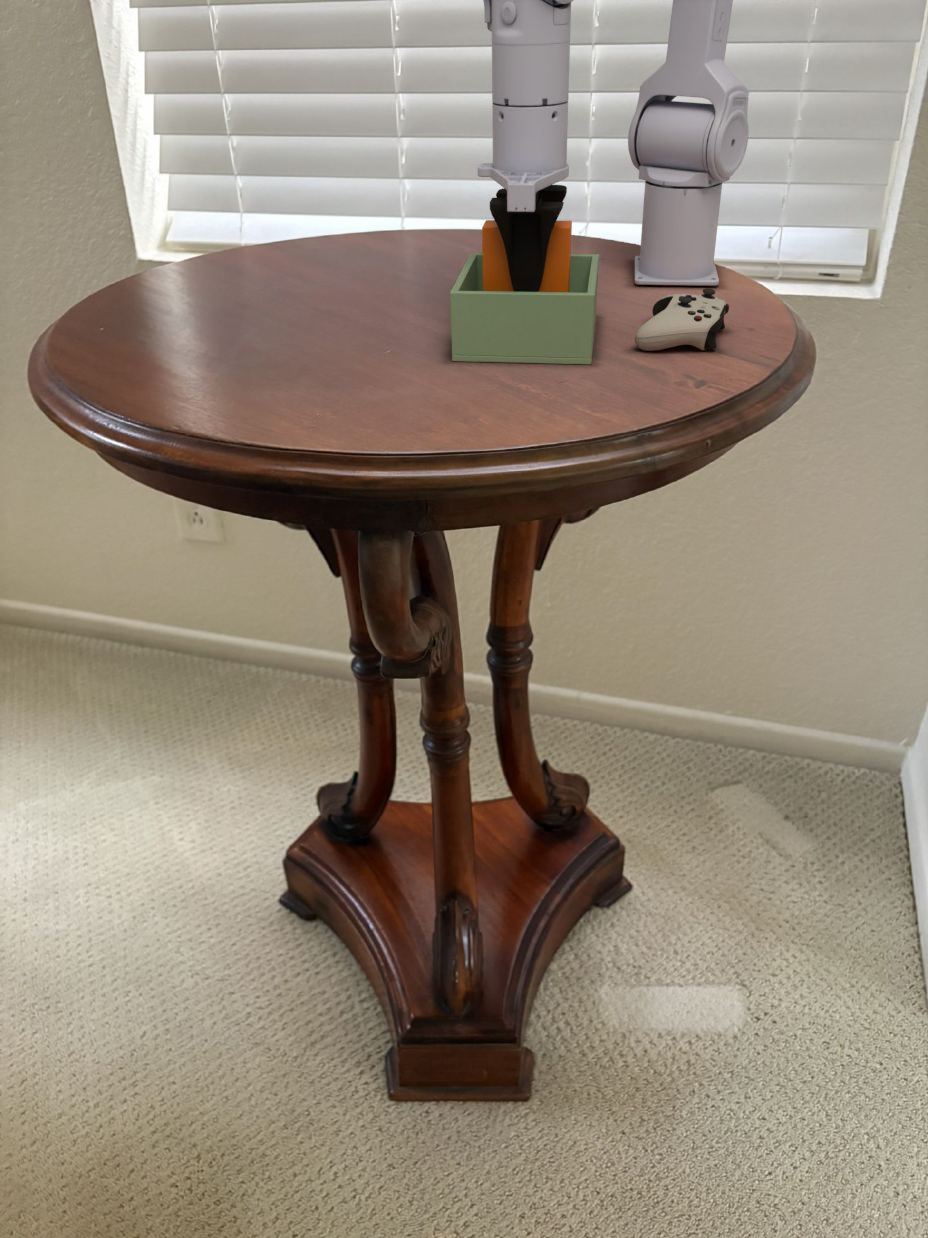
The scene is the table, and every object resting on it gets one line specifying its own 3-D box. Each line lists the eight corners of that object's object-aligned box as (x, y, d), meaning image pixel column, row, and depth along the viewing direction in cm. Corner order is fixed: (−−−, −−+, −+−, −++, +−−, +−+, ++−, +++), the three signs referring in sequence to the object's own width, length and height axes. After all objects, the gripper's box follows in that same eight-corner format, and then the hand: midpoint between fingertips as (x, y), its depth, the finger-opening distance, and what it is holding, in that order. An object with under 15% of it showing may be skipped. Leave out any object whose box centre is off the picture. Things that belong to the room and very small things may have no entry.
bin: (472, 315, 91) (470, 252, 88) (596, 317, 90) (599, 253, 87) (452, 361, 81) (449, 292, 78) (591, 364, 80) (594, 294, 77)
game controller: (649, 306, 89) (703, 259, 85) (688, 351, 90) (743, 308, 86) (627, 340, 81) (685, 291, 78) (669, 390, 82) (729, 343, 79)
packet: (486, 300, 85) (485, 219, 82) (569, 301, 85) (572, 220, 81) (483, 308, 83) (481, 226, 80) (567, 310, 83) (570, 227, 79)
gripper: (488, 90, 82) (490, 261, 90) (464, 116, 70) (468, 311, 78) (575, 89, 81) (569, 262, 89) (565, 115, 69) (559, 312, 77)
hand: (528, 285), depth 83 cm, fingers closed on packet, 2 cm apart
